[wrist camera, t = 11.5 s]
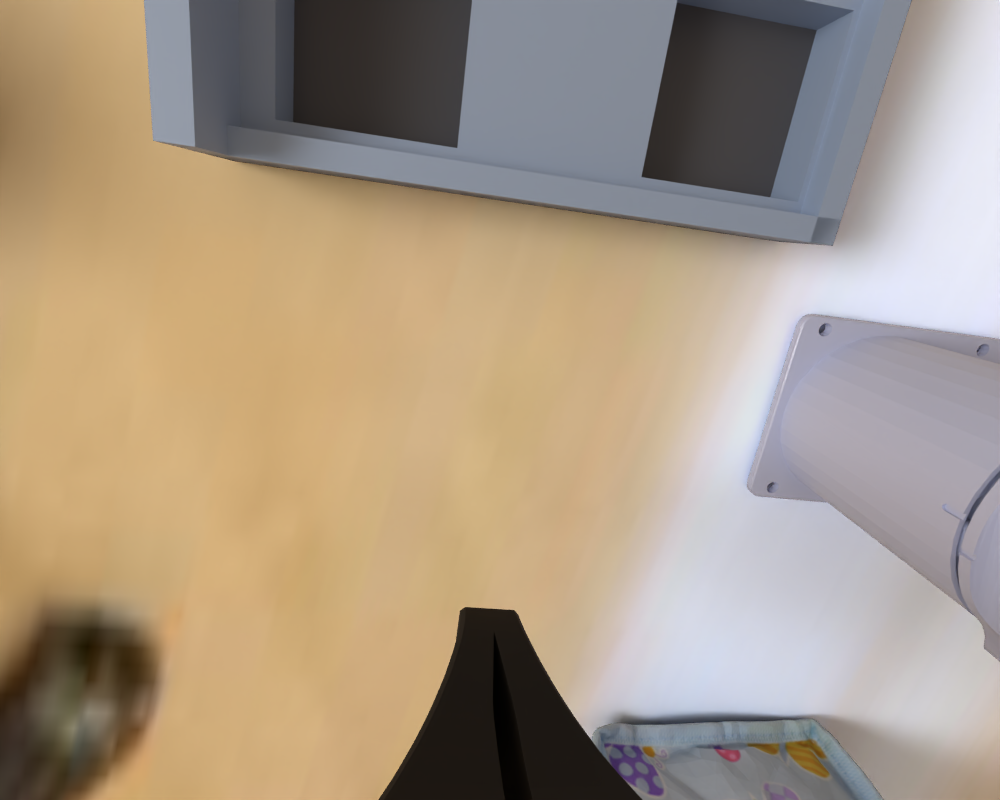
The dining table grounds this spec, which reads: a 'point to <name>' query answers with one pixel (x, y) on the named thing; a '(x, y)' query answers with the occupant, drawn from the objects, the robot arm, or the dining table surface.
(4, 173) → the dining table surface
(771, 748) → the lunch bag
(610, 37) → the tray
